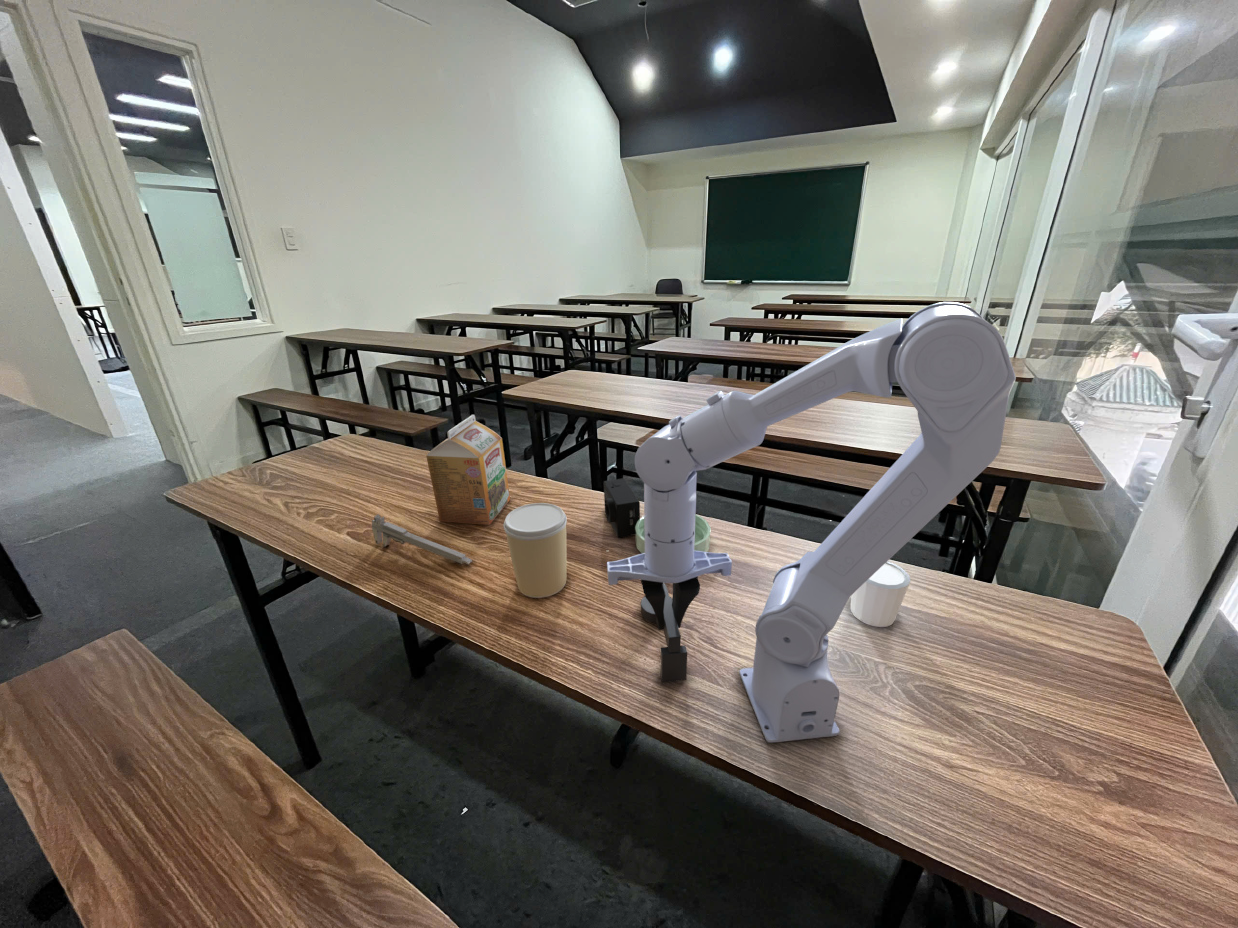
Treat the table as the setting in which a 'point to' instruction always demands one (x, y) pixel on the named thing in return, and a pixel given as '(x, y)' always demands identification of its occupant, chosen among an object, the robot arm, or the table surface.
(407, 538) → the caliper
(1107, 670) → the table surface
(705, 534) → the bowl
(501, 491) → the milk carton
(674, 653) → the grey lever handle
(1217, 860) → the table surface
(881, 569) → the white round tub
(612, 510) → the digital camera
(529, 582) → the cream lidded canister
